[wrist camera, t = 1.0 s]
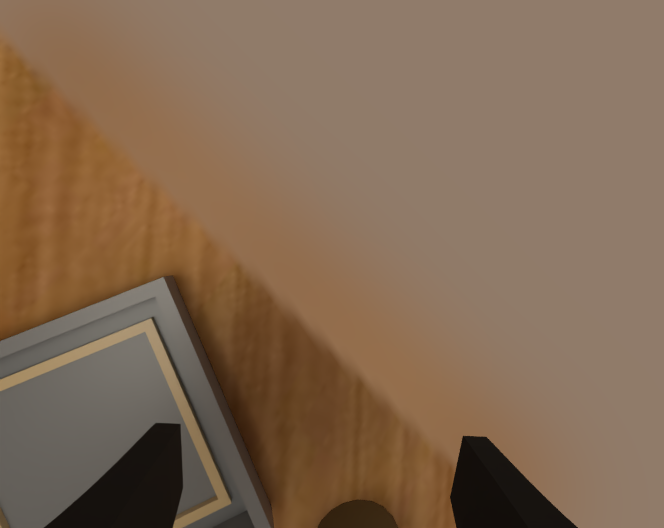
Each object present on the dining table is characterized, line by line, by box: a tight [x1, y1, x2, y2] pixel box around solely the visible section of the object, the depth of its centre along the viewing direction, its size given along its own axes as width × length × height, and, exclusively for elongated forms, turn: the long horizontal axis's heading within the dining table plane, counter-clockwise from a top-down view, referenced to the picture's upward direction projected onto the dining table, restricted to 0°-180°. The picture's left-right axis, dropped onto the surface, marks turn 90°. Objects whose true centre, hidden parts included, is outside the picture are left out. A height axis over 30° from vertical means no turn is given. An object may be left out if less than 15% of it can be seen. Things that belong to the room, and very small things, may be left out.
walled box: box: [0, 275, 274, 528], centre depth 27 cm, size 16×16×4 cm
